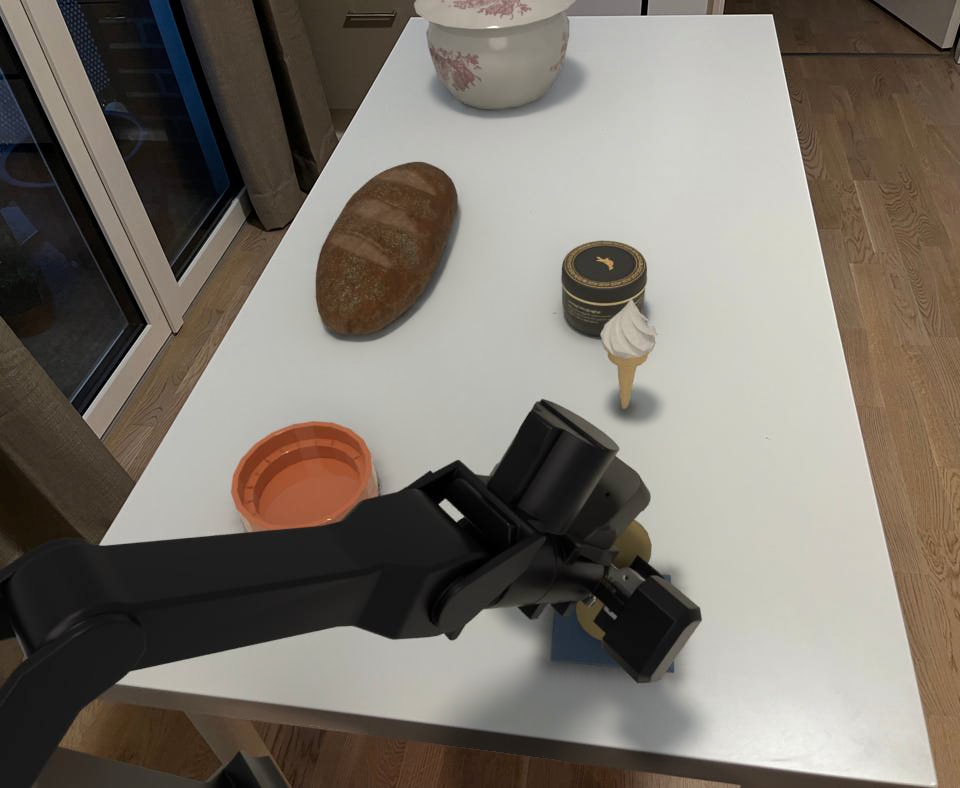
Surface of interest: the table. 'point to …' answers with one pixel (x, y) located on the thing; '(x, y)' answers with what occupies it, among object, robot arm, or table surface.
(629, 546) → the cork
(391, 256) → the bread
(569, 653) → the mat
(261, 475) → the bowl
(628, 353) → the ice cream cone
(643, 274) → the jar
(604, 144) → the table surface
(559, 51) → the chamber pot
